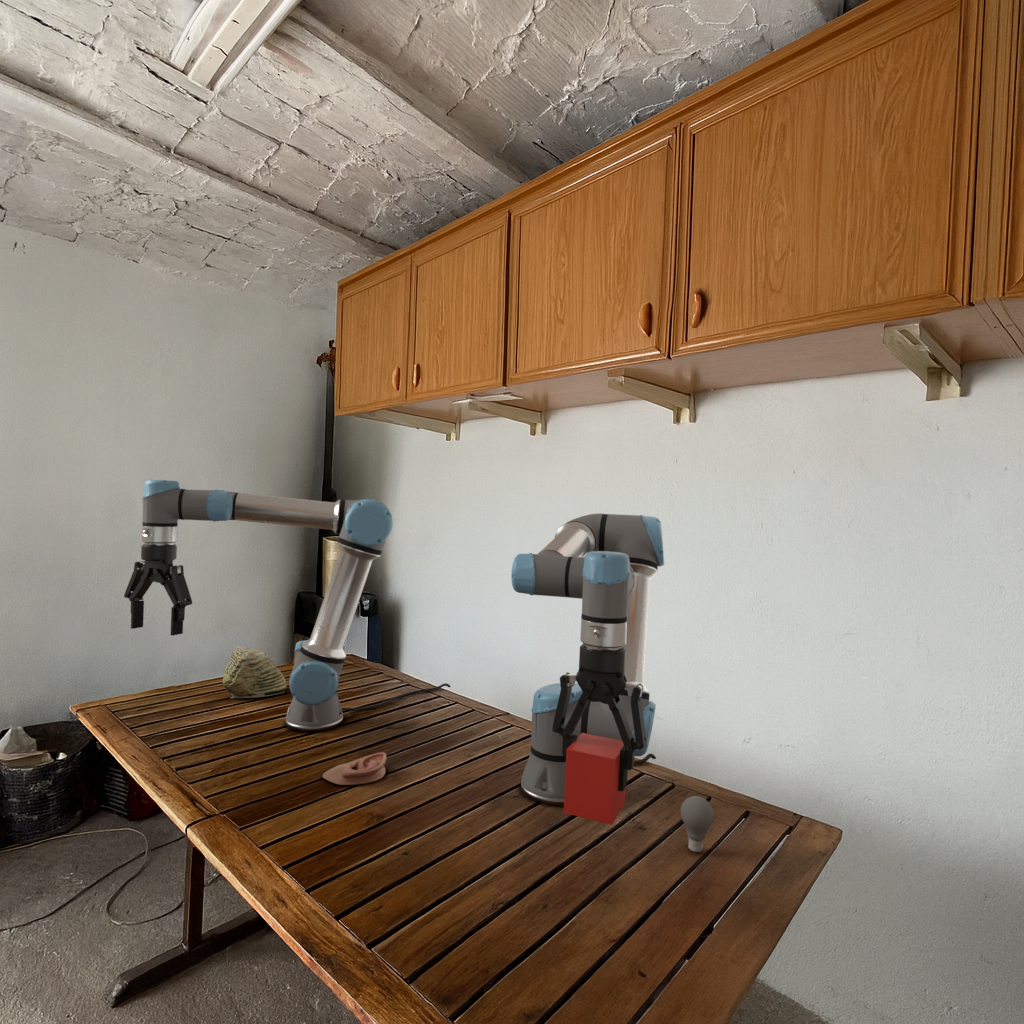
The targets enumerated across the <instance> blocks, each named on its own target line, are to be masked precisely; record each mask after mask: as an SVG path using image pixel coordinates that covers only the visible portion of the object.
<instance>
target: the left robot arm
mask: <svg viewBox="0 0 1024 1024" xmlns="http://www.w3.org/2000/svg"><path fill="white" fill-rule="evenodd" d="M142 494H143V495H142V499H141V500H142V523H141V526H142V527H141V529H142V530H141V542H142V543H143V544H142V545H141V547H140V548H141V549H140V559H141V561H135V562H134V565H133V571H132V574H131V576H130V579H129V581H128V584H127V587H126V589H125V592H124V594H123V597H124V599H128V600H129V602H130V629H131V630H134V629H138V628H144V613H145V612H144V610H145V600H144V596H145V595H146V593H147V591H148V590H149V589H150V587H151V586H152V585H153V583H157V584H160V586H163V587H164V589H165V592H166V594H167V595H168V597H169V599H170V601H171V603H172V605H173V606H172V607H171V608H170V609H171V610H170V611H171V612H170V636H178V635H182V634H183V633H184V621H185V615H186V614H185V613H186V607H187V606H191V605H193V599H192V596H191V593H190V590H189V587H188V586H189V585H188V584H187V580H186V577H185V573H184V572H185V571H184V570H185V569H184V565H182V564H179V565H174V560H176V559H177V557H178V556H177V553H178V545H176V544H175V543H178V532H179V531H178V526H179V525H178V521H179V520H181V521H185V520H186V521H187V520H188V521H205V522H206V521H208V522H227V521H241V522H249V523H260V524H268V525H280V526H289V527H290V526H291V527H301V528H311V529H321V530H331V531H333V532H334V534H335V535H339V536H338V538H337V540H336V541H337V542H336V544H337V546H338V548H339V554H338V557H337V559H336V563H335V565H334V568H333V571H332V574H331V577H330V580H329V582H328V585H327V589H326V591H325V594H324V597H323V599H322V603H321V605H320V608H319V612H318V615H317V616H316V617H317V618H316V620H315V623H314V626H313V629H312V632H311V635H310V638H309V639H306V640H305V639H303V640H299V641H297V642H296V643H295V648H294V664H293V667H292V670H291V673H290V675H289V678H288V687H289V691H290V694H291V695H292V699H291V702H290V704H289V706H288V708H287V711H286V712H287V713H286V715H285V726H286V728H287V729H289V730H291V731H294V732H295V731H296V732H301V733H316V732H325V731H329V730H332V729H335V728H337V727H339V726H340V725H342V723H343V722H344V714H343V712H345V711H349V712H358V711H366V710H370V709H375V708H379V707H382V706H385V705H388V704H390V703H391V702H393V701H395V700H398V699H400V698H403V697H406V696H410V695H413V694H419V693H424V692H432V691H437V690H439V689H441V688H444V687H447V688H451V687H452V686H451V685H450V684H449V683H446V682H445V683H441V684H440V685H438V686H436V687H431V688H424V689H417V690H412V691H408V692H405V693H402V694H399V695H395V696H393V697H391V698H390V699H388V700H385V701H383V702H380V703H376V704H373V705H367V706H362V707H342V706H341V702H340V699H339V695H338V688H339V682H340V681H339V679H340V675H341V672H342V670H343V667H344V664H345V660H346V658H347V654H346V651H345V650H344V646H345V643H346V639H347V636H348V634H349V630H350V628H351V625H352V622H353V619H354V616H355V613H356V610H357V608H358V605H359V601H360V598H361V597H362V596H361V595H362V593H363V590H364V588H365V585H366V581H367V578H368V575H369V572H370V569H371V566H372V564H373V561H374V560H376V559H379V558H380V557H381V556H382V553H383V550H384V547H385V544H386V542H387V538H389V536H390V534H391V532H392V530H393V524H394V523H393V515H392V513H391V511H390V509H389V508H388V506H387V505H385V504H384V503H383V502H382V501H379V500H377V499H372V498H362V499H337V500H336V501H335V502H333V501H325V500H324V501H323V500H314V499H305V498H295V497H285V496H276V495H266V494H256V493H246V492H235V491H227V490H224V489H223V490H222V489H213V490H212V489H186V488H181V487H180V483H179V481H178V480H169V479H168V480H165V479H148V480H147V479H146V481H145V482H144V485H143V493H142Z"/></svg>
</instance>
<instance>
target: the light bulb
mask: <svg viewBox="0 0 1024 1024" xmlns="http://www.w3.org/2000/svg"><path fill="white" fill-rule="evenodd" d="M680 817H681V820H682V822H683V824H684V826H685V829H686V834H687V836H688V837H687V838H688V845H687V847H688V849H689V850H690V851H692V852H695V853H699V852H702V851H703V848H704V847H703V846H704V839H705V838H706V833H707V831H708V830H709V829H710V828H711V826H712V824H713V822H714V818H715V813H714V809H713V807H712V805H711V804H710V802H709V801H708V800H707V799H705V797H702V796H699V795H692V796H689V797H687V798H686V799H685V800H684V801H683V802H682V803H681V805H680Z"/></svg>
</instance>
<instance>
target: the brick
mask: <svg viewBox="0 0 1024 1024" xmlns="http://www.w3.org/2000/svg"><path fill="white" fill-rule="evenodd" d="M623 746H624V744H623V741H621V740H616V739H611V738H606V737H601V736H595V735H590V734H585V733H582V734H581V735H580V736H579V737H578V738H577V739H576V740H575V741H574V742H573V743H572V744H571V745H570V746H569V747H568V748H567V750H566V772H565V795H564V805H563V813H564V814H567V815H571V816H574V817H579V818H583V819H585V820H586V819H587V820H591V821H594V822H598V823H603V824H606V825H611V826H612V825H613V824H614V823H615V821H616V819H617V817H618V816H619V815H620V812H621V811H622V809H623V807H624V806H625V804H626V793H627V791H626V789H627V786H626V787H625V789H624V791H618V786H619V764H620V750H621V749H622V747H623Z"/></svg>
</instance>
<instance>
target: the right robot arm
mask: <svg viewBox="0 0 1024 1024" xmlns="http://www.w3.org/2000/svg"><path fill="white" fill-rule="evenodd" d="M664 553H665V552H664V540H663V530H662V521H661V520H660V519H659V518H658V517H656V516H651V515H650V516H649V515H644V514H643V515H642V514H639V515H636V514H616V513H615V514H614V513H590V514H586V515H582V516H579V517H575V518H573V519H570V520H569V521H567V522H565V523H564V524H562V525H561V526H560V527H559V528H558V529H557V531H556V532H555V535H554V538H553V539H552V540H551V541H550V542H549V543H547V545H545V546H544V547H543V548H542V549H540V551H539V552H538V553H532V552H529V553H518V554H517V555H516V556H515V557H514V559H513V562H512V566H511V577H510V578H511V586H512V589H513V590H514V591H515V592H516V593H519V594H525V595H529V596H544V597H555V598H557V597H558V598H569V599H581V616H580V639H579V641H580V642H581V643H582V644H581V645H579V658H578V671H577V673H570V672H564V674H562V675H561V676H560V677H559V682H557V683H550V684H547V685H543V686H541V687H539V688H537V690H536V691H535V692H534V694H533V699H532V708H531V729H530V730H531V733H530V737H531V738H530V753H529V757H528V759H527V762H526V765H525V766H524V769H523V773H522V775H521V779H520V791H521V792H522V794H524V796H525V797H527V798H528V799H530V800H532V801H535V802H536V803H540V804H544V805H551V806H564V795H565V772H566V750H567V748H568V747H569V746H570V745H571V744H572V743H573V742H574V741H575V740H576V739H577V738H578V737H579V736H580V735H581V734H582V733H585V734H590V735H595V736H601V737H606V738H611V739H616V740H621V741H623V744H624V746H623V747H622V749H621V750H620V764H619V786H618V791H624V789H625V787H626V788H627V785H628V771H632V769H633V767H634V765H635V766H636V765H641V764H645V763H646V762H647V761H649V759H652V760H656V759H657V757H656V755H655V754H653V753H648V754H647V751H648V748H649V744H650V740H651V736H652V731H653V726H654V725H653V724H654V720H655V714H656V713H655V712H656V708H657V707H656V705H657V704H656V703H655V702H654V701H653V700H650V697H651V696H650V695H651V693H650V691H649V690H648V688H647V687H646V686H645V684H644V680H645V665H646V649H647V648H646V647H647V636H648V635H647V633H648V621H649V620H648V618H649V605H650V604H649V602H650V589H651V580H652V579H653V578H654V577H655V576H656V575H658V571H659V569H658V568H659V567H660V568H661V567H662V566H665V555H664ZM645 754H647V755H646V756H644V755H645ZM642 756H644V757H643V758H641V759H635V757H642Z"/></svg>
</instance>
